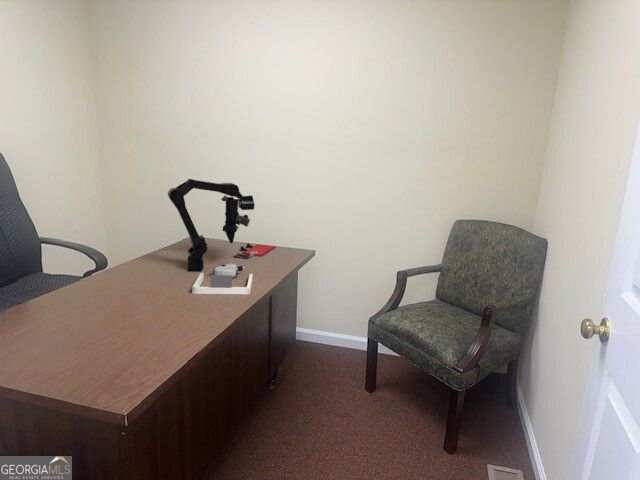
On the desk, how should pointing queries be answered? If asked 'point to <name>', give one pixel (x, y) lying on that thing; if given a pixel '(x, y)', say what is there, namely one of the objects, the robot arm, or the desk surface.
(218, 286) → the frame
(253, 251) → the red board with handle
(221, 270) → the robot toy
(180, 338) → the desk surface
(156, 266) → the desk surface
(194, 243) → the robot arm
